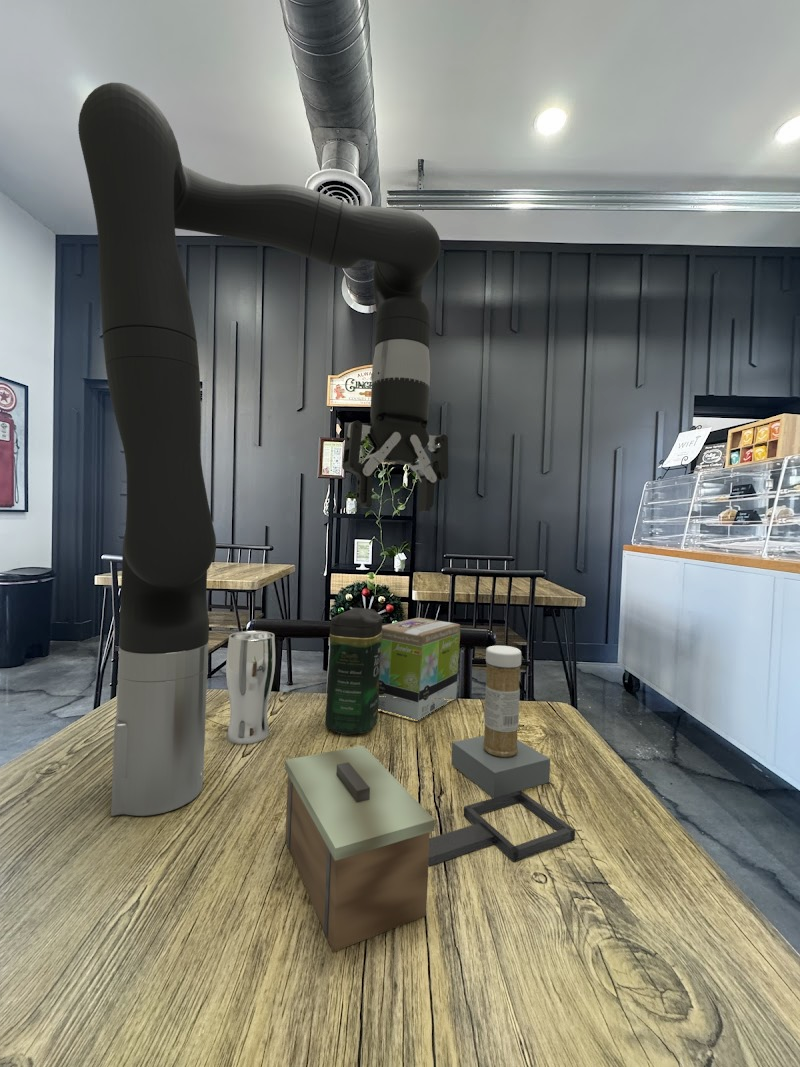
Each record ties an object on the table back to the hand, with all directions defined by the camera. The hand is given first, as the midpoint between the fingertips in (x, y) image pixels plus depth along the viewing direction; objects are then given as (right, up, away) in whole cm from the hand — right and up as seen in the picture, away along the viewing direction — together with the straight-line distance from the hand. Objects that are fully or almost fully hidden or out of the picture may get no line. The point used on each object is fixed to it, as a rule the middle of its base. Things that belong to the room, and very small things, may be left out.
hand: (395, 509), depth 61 cm
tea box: (+3, -35, +25) cm, 43 cm away
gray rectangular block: (+14, -35, +1) cm, 37 cm away
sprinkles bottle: (+14, -32, +1) cm, 35 cm away
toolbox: (-4, -34, -18) cm, 39 cm away
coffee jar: (-7, -34, +15) cm, 38 cm away
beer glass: (-22, -34, +9) cm, 41 cm away
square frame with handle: (+10, -34, -12) cm, 38 cm away
